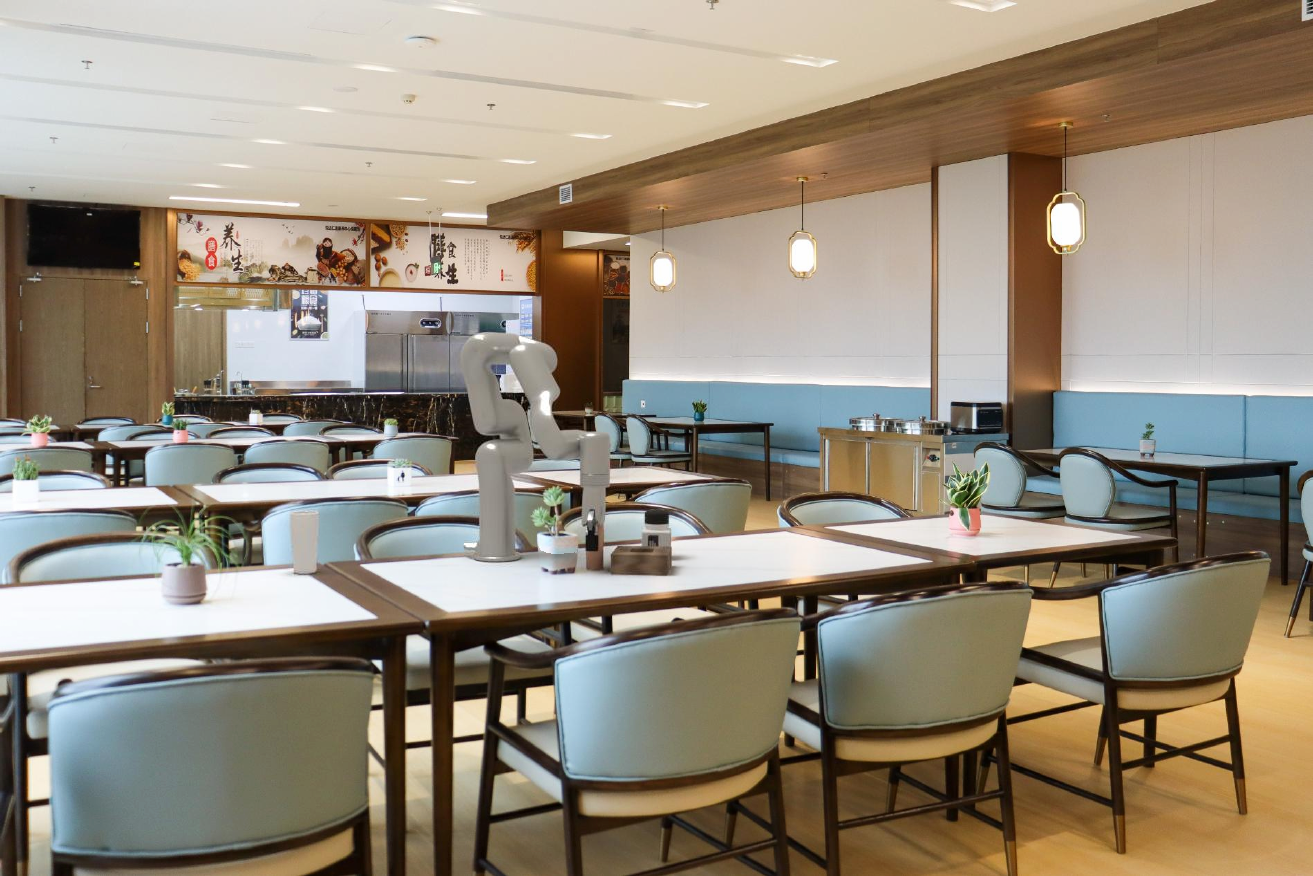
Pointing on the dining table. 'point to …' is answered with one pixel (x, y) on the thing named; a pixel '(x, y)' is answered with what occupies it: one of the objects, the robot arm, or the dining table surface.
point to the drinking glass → (304, 540)
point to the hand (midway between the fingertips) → (594, 548)
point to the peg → (596, 553)
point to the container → (656, 529)
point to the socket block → (641, 560)
